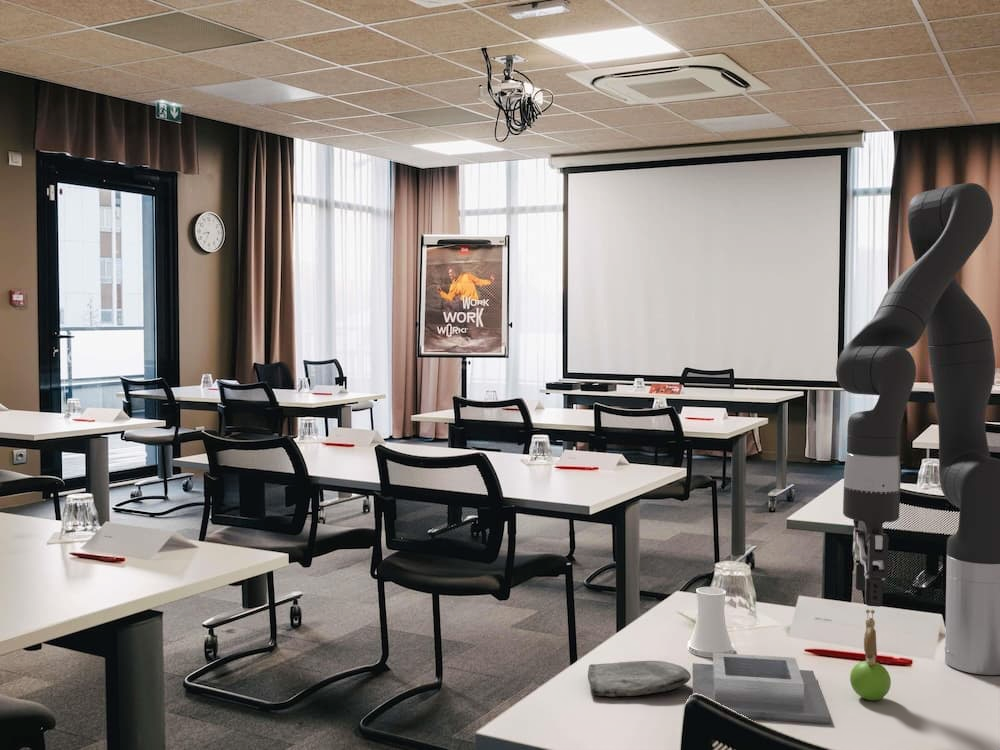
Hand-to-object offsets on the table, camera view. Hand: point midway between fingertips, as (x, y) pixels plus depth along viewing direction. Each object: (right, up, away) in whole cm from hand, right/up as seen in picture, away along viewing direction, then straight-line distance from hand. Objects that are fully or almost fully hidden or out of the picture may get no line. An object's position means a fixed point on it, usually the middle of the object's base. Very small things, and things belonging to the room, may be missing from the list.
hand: (868, 597), depth 137 cm
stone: (-32, -15, +5) cm, 36 cm away
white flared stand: (-18, -14, +21) cm, 31 cm away
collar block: (-16, -14, +1) cm, 21 cm away
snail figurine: (0, -15, 0) cm, 15 cm away
